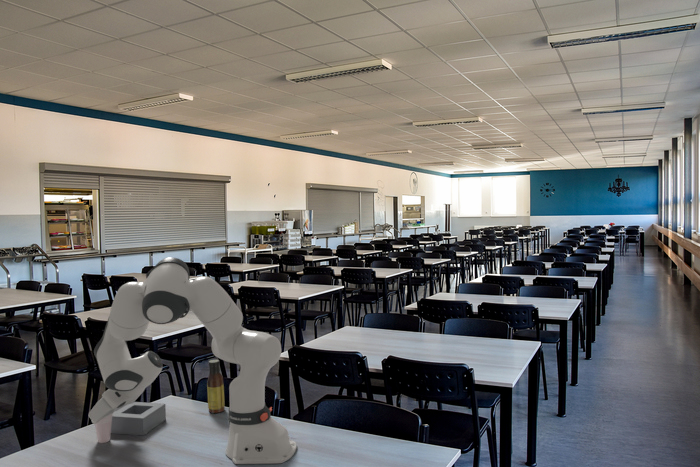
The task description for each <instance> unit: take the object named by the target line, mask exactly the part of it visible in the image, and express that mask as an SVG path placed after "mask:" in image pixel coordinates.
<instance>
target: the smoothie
mask: <svg viewBox="0 0 700 467" xmlns="http://www.w3.org/2000/svg"><path fill="white" fill-rule="evenodd" d="M113 414H114V413H111V414H109V415H108V416H106V417H104V418H103V419H101V420H100V421H99V422H98V423H96V424H94V425H95V431H96V432H95V433H96V438H97V443H98V444H103V443H105V444H106V443H107V442H109V441H111V434H112V433H111V425H112V415H113Z"/></svg>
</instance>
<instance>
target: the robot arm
mask: <svg viewBox="0 0 700 467" xmlns="http://www.w3.org/2000/svg"><path fill="white" fill-rule="evenodd" d="M145 277H146V279H145V280H143V281H128V282H126V283H124V284H122V285H121V286H119V288H118V290H117V292H116V294H115V296H114V298H113V301H112V304H111V307H110V308H111V309H110V311H109V316H108V318H107V321H106V324H105V327H104V331H103V334H102V337H101V339H100V340H99V341H98V342H97V343H96V346H95V347H94V349H93V353H94V354H93V355H94V357H95V359H96V362H97V364H98V368H99V371H100V374H101V377H102V381H103V383H104V385H105V388H107V390H105V391H104V392H103V393H102V394H101V398H100V399H99V400H98V401H97V402H96V403H95V405H94V406H93V407H92V409H90V411H89V412H88V418H90V420H91V423H92V424H93V425H95V424H96V423H98V422H99V421H100V420H101V419H103V418H104V417H106V416H108V415H109V414H111V413H114V412H115V411H117V410H119V409H120V408H122V407H124V406H126V405H127V404H132V403H133V402H136V400H137V399H138V398H139V397H141V395H142V394H143V393H144V392H145V390H146V388H147V387H149V386H150V385H151V384H152V383H154V381H155V380H156V378H158V376H159V374H160V373H161V372H162V370H163V366H164V365H163V362H162V358H161V357H160V356H159V355H158V354H157V353H155V352H154V351H153V350H147V351H146V352H145V353H143V354H142V355H141V356H138V357H134V358H132V356H131V354H130V351H129V348H128V341H133V340H134V341H135V340H136V339H139V338H140V337H141V336H143V335H144V334H145V332H146V331H147V329H148V327H149V324H150V322H151V323H153V324H156V325H166V324H171V323H174V322H176V321H178V320H179V319H183V318H185V317H186V316H187V315H188V314H189V312H190V311H191V312H192V313H193V314H194V315H195V316H196V318H197V319H198V321H199V322H201V324H202V325H203V326H204V328H205V329H206V330H207V331H208V332H209V333H210V336H211V337H212V340H211V346H210V347H211V351H212V354H213V355H214V356H215V357H216V358H217V359H220V360H222V361H224V362H226V363H231V364H236V365H239V366H240V371H239V374H238V376H237V377H235V378H234V379H233V380H232V381H231V382H230V383H229V387H228V390H229V407H228V417H227V418H228V425H229V429H228V430H229V431H228V439H227V445H226V448H225V455H226V457H228V458H229V459H231V461H232V462H233V464H235V465H253V464H254V465H259V464H262V465H263V464H268V465H269V464H283V463H285V462H287V461H288V460H290V459H292V457H293V456H294V455H295V453H296V451H297V449H298V448H297V443H296V441H295V440H290V436H289V432H288V429H287V428H286V427H285V426H284V425H282V423H280V422H279V421H277V420H276V419H274V418H273V417H272V416H271V412H272V411H273V409H272V408H273V407H272V406H270V407H268V406H267V405H266V402H265V399H266V397H265V395H266V394H265V393H266V391H265V390H266V388H265V387H266V380H267V376H268V374H269V371H270V370H271V368H273V366H275V365H276V364H277V363H278V362H279V360H280V358H281V356H282V343H281V342H280V340H279V338H278V337H276V336H274V335H272V334H271V333H267V332H264V331H257V330H250V329H247V328H245V327H243V324H242V323H243V320H244V316H243V312H242V311H241V310H240V308H239V306H238V305H237V304H236V303H235V302H234V300H233V299H232V297H231V296H230V295H229V294H228V292H227V291H226V290H225V289H224V288H223V287H222V286H221V285H220V284H219V283H218V282H217V281H216V280H214V279H213V278H212V277H210V276H205V275H204V276H198V277H195V279H192V280H191V279H190V269H189V266H188V265H187V263H186V262H185V261H184V260H182V259H181V258H178V257H173V256H172V257H165V258H163V259H161V260H159V261H158V262H157V263H156V265H154V267H152V268H151V269H150V270H149V271H148V272H147V273H146V274H145Z"/></svg>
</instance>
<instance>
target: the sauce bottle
mask: <svg viewBox="0 0 700 467" xmlns="http://www.w3.org/2000/svg"><path fill="white" fill-rule="evenodd" d="M208 366H209V374H208V378H207V380H206V387H207V388H206V389H207V408H208V411H209V412H210V413H212V414H218V413H222V412H223V411H225V408H226V407H225V405H226V404H225V386H224V385H225V384H224V377H223V375H222V373H221V371H220V360H219V359H210V360H209V361H208Z"/></svg>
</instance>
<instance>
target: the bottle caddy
mask: <svg viewBox="0 0 700 467" xmlns="http://www.w3.org/2000/svg"><path fill="white" fill-rule="evenodd" d="M166 411H167V410H166V403H161V402H160V403H159V402H142V401H141V402H140V401H134V402H133V403H132V404H127V405H124V406H123V407H121V408H119V409H118V410H116V411H115V412H114V414H113V415H112V425H111V434H119V435H120V434H122V435H133V436H145V435H146V434H148V433H149V432H151V431H152V430H153V429H155V428H156V427H157V426H159V425H160V424H162V423H164V422H165V421H166V419H167V417H166V416H167V412H166Z"/></svg>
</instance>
